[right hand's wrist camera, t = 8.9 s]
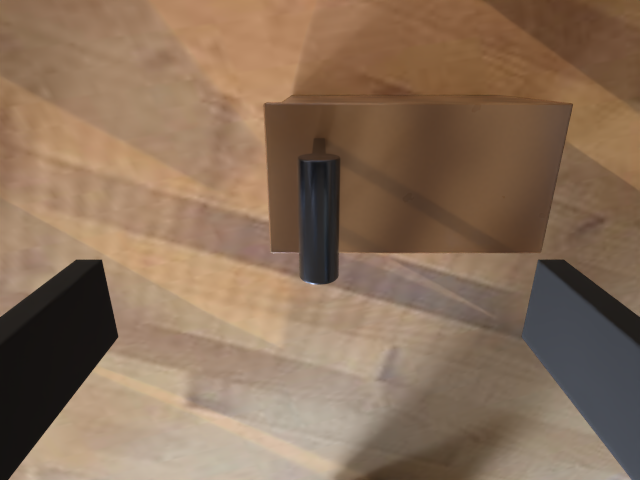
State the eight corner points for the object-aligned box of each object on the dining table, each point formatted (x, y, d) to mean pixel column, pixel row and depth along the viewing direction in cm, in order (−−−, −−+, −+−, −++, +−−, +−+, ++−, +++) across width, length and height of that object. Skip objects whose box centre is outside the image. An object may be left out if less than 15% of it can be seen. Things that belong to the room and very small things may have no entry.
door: (272, 247, 29) (252, 318, 21) (265, 102, 26) (237, 115, 17) (533, 247, 29) (621, 318, 21) (564, 102, 26) (685, 115, 17)
